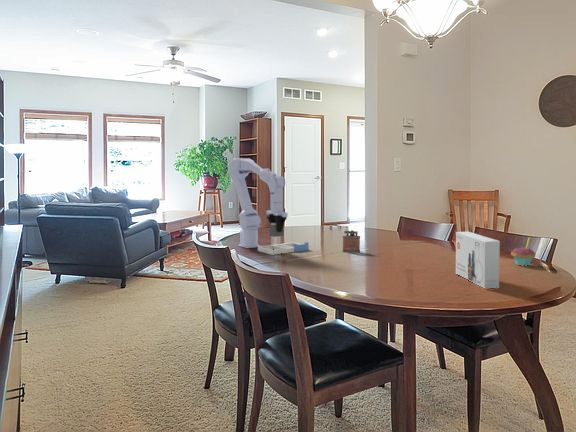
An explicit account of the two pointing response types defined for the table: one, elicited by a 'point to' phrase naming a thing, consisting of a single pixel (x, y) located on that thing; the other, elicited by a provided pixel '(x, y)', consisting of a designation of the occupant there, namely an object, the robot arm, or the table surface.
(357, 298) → the table surface
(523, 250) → the cupcake
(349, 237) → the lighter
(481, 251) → the skincare box
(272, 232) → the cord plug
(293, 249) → the white cubby shelf
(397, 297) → the table surface
